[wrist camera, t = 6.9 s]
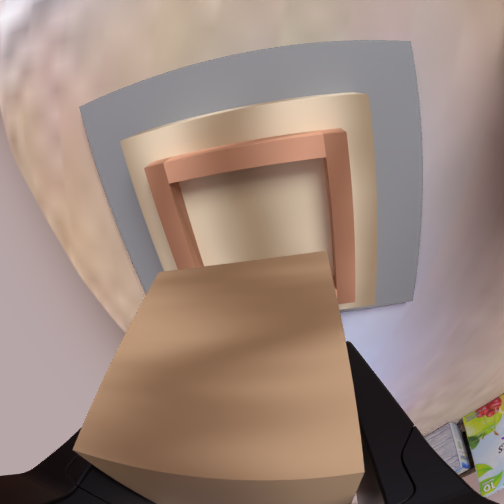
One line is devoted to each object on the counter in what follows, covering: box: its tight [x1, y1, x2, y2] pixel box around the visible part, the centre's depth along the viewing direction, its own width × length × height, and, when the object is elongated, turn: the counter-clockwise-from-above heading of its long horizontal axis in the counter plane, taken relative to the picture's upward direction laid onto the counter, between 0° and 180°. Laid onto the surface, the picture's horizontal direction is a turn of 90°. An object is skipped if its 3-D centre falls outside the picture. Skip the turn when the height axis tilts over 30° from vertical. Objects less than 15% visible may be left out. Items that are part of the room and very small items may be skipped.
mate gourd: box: [459, 432, 476, 478], centre depth 33 cm, size 7×8×10 cm
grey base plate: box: [79, 40, 423, 312], centre depth 18 cm, size 20×18×1 cm
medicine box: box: [424, 422, 470, 475], centre depth 32 cm, size 8×4×9 cm, turn 144°
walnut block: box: [73, 251, 365, 504], centre depth 7 cm, size 5×5×6 cm
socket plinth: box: [120, 92, 377, 310], centre depth 16 cm, size 12×12×4 cm
